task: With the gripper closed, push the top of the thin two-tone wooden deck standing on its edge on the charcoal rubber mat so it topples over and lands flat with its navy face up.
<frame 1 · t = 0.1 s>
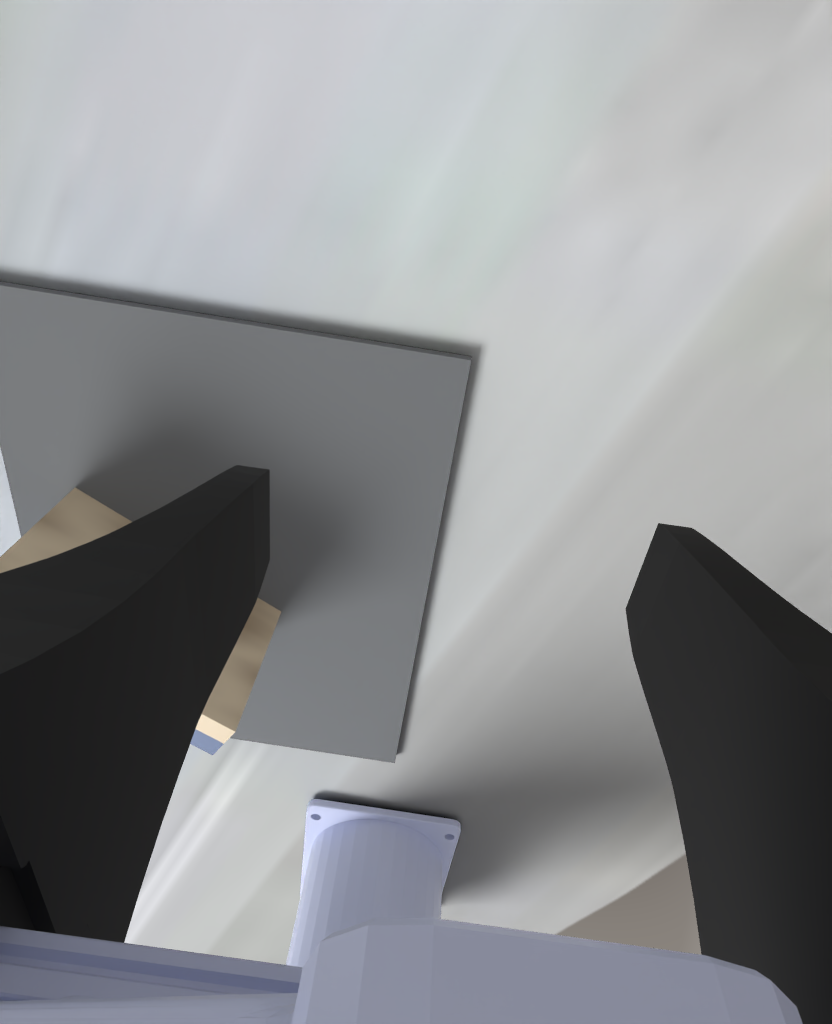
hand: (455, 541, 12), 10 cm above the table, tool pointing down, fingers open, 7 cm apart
deck: (174, 565, 25), resting on mat
mat: (227, 566, 25), on the table
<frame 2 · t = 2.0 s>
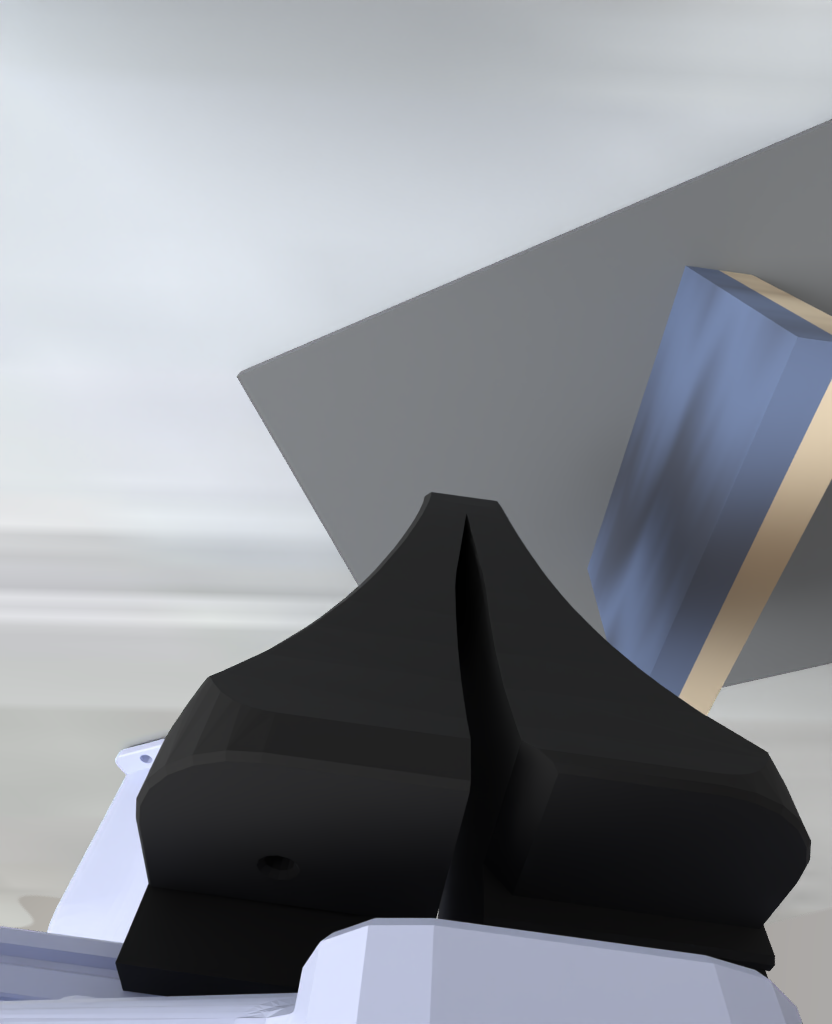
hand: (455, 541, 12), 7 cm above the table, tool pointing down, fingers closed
deck: (658, 441, 17), resting on mat
mat: (670, 493, 19), on the table
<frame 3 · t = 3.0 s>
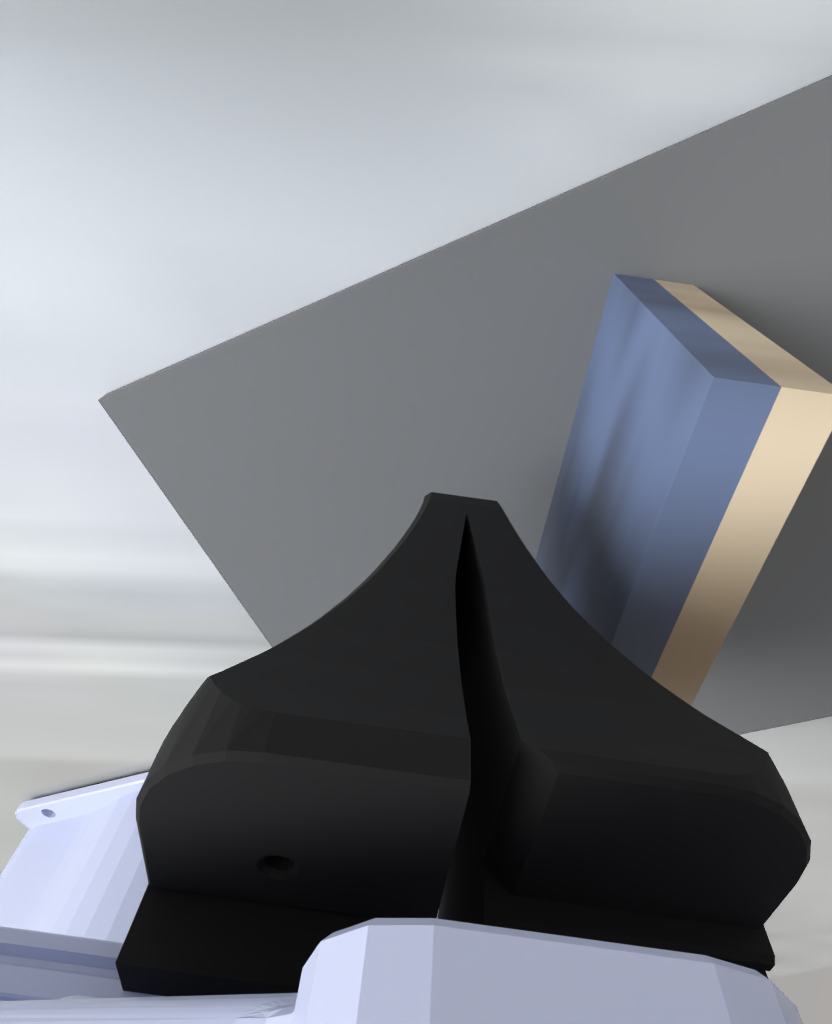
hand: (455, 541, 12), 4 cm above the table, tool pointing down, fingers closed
deck: (592, 477, 15), resting on mat
mat: (610, 535, 16), on the table
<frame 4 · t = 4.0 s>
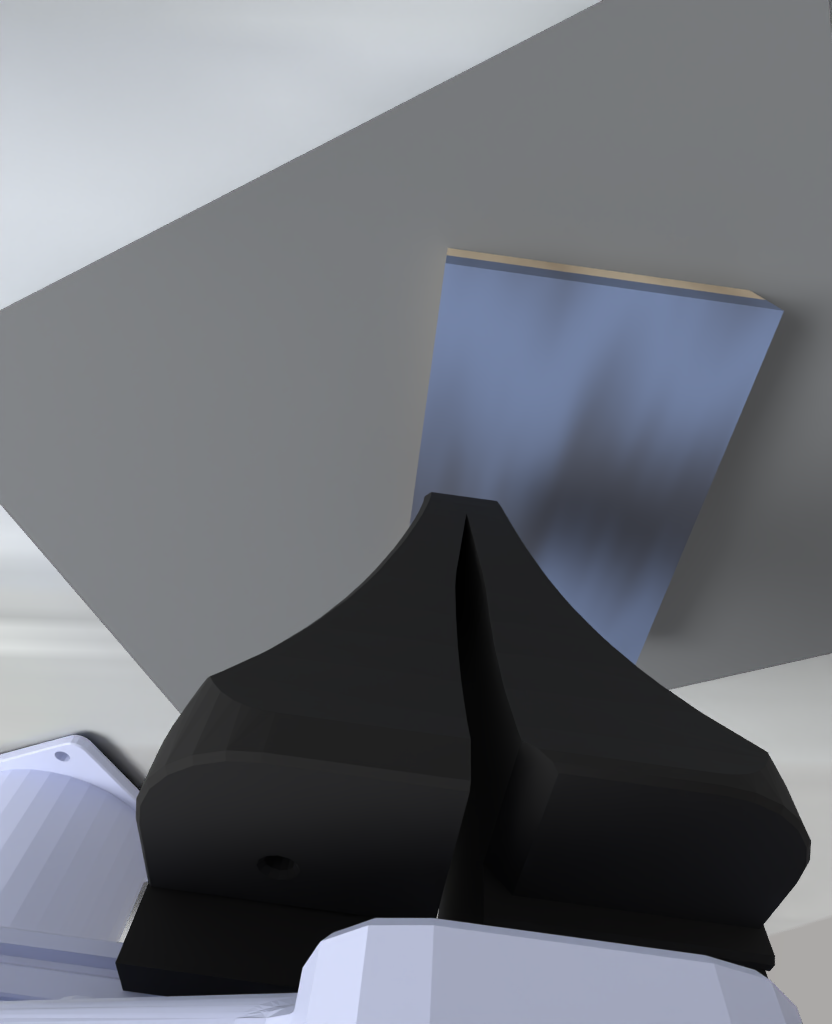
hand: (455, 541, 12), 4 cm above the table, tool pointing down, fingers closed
deck: (417, 467, 14), point 1 cm above the table, tilted 90°, touching mat
mat: (417, 506, 16), on the table
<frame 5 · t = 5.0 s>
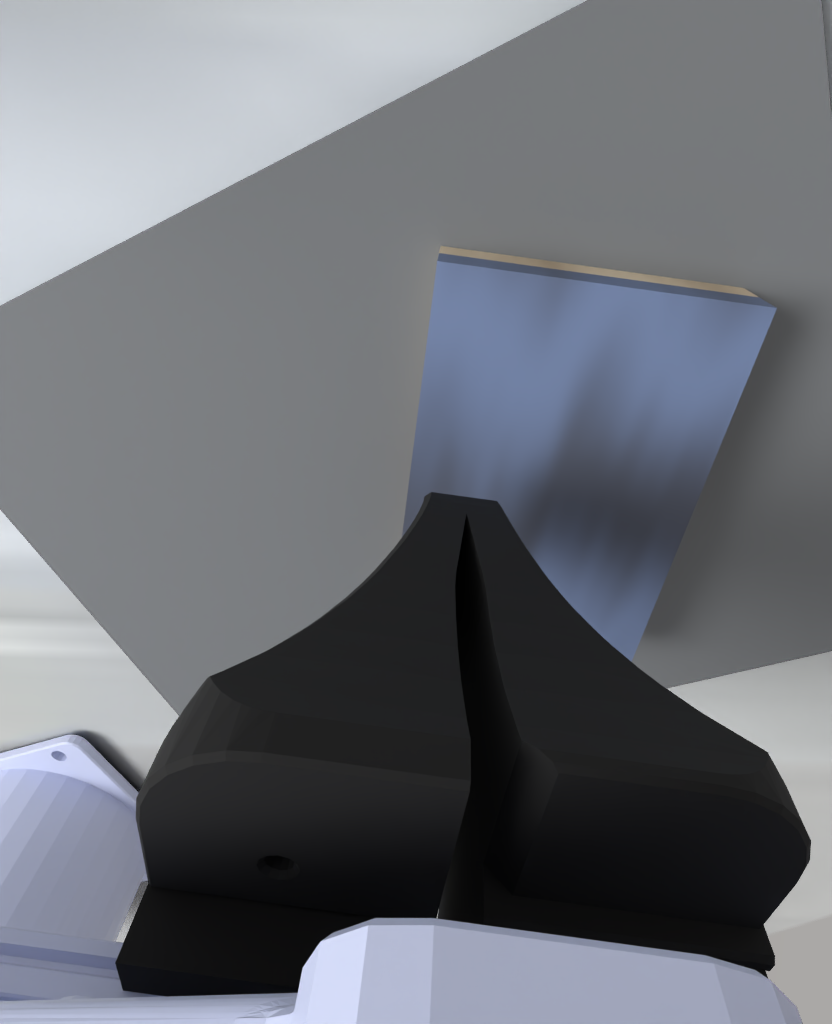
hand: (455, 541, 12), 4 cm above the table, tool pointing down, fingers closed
deck: (411, 466, 14), point 1 cm above the table, tilted 90°, touching mat
mat: (412, 505, 16), on the table
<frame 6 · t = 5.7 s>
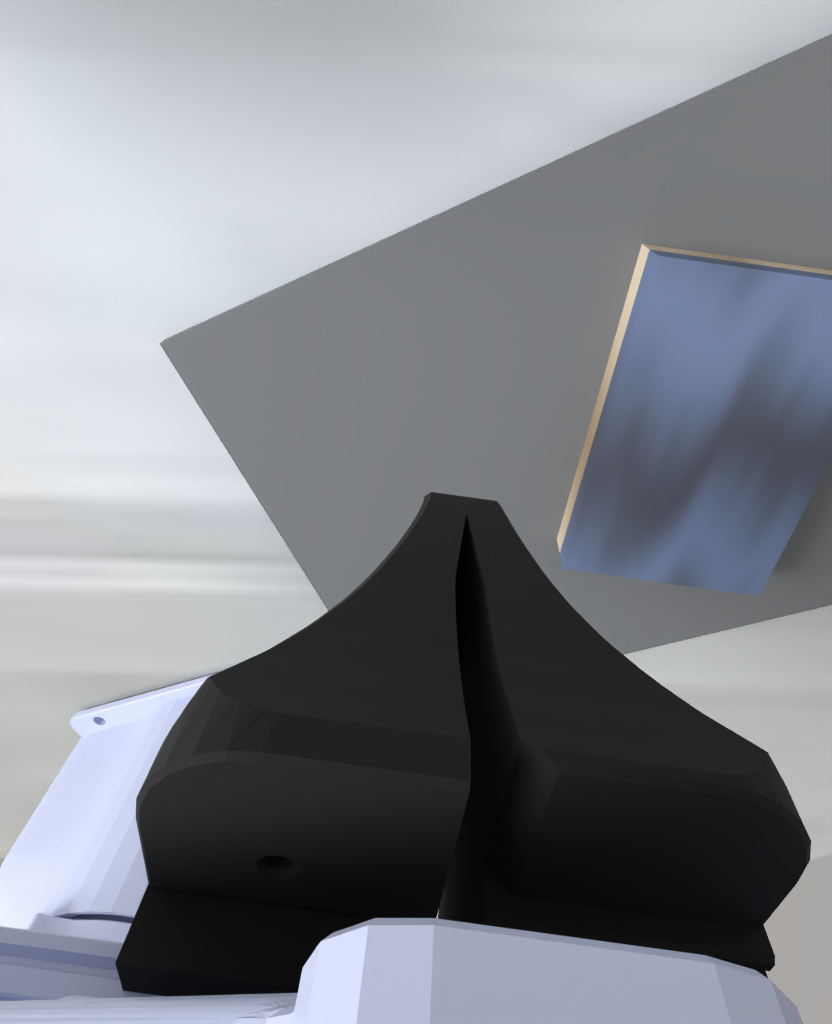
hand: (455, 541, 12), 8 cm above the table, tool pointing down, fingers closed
deck: (598, 422, 18), point 1 cm above the table, tilted 90°, touching mat
mat: (580, 458, 19), on the table
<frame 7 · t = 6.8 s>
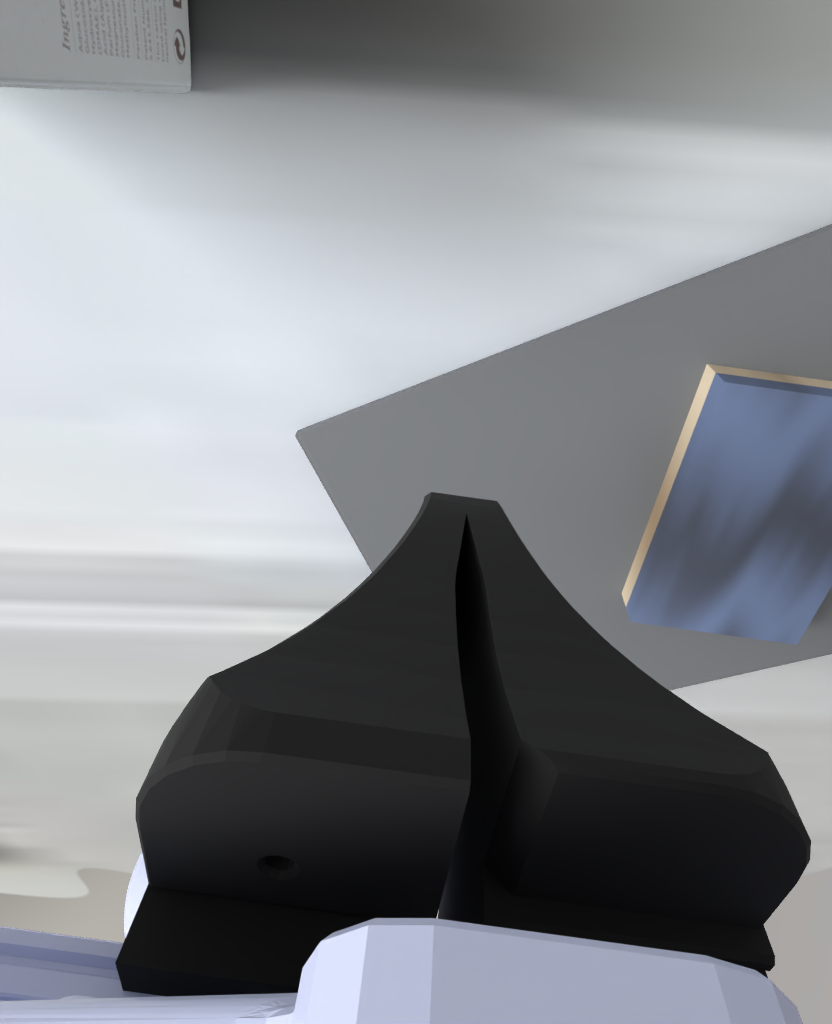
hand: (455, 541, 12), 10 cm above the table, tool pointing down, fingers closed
deck: (665, 503, 21), point 1 cm above the table, tilted 90°, touching mat
mat: (644, 527, 23), on the table
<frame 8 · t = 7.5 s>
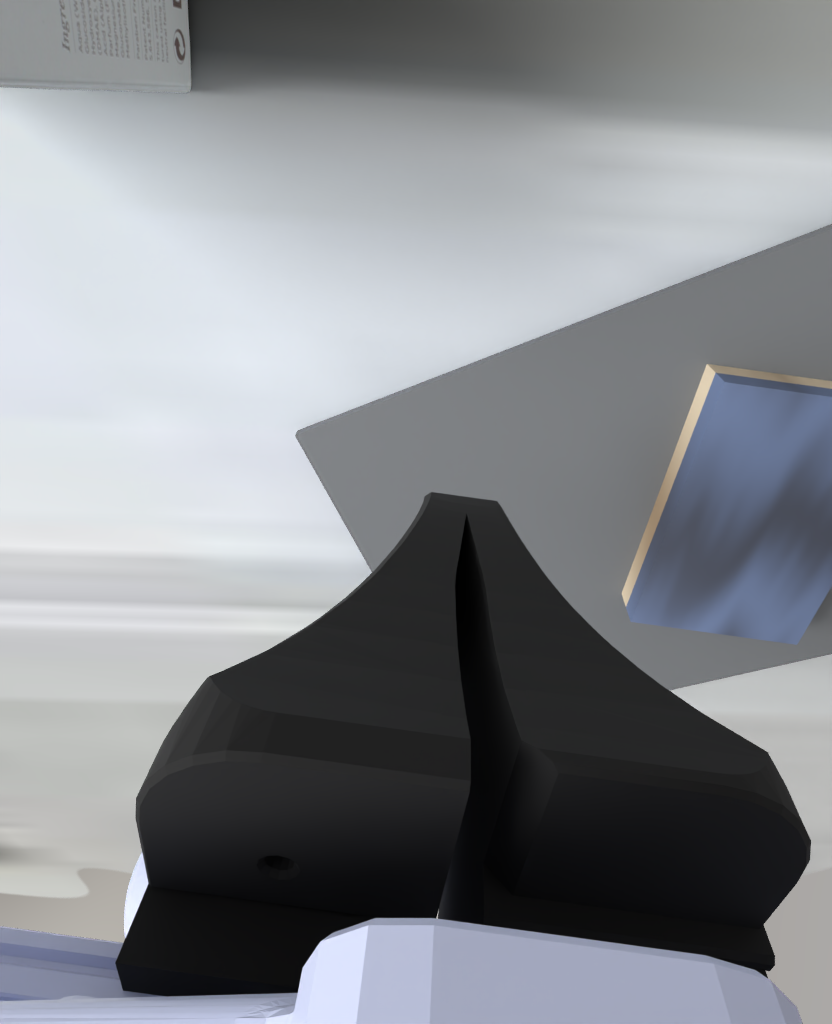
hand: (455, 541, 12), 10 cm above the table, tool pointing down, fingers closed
deck: (665, 503, 21), point 1 cm above the table, tilted 90°, touching mat
mat: (644, 527, 23), on the table
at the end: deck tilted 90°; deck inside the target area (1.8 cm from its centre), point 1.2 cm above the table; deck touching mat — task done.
